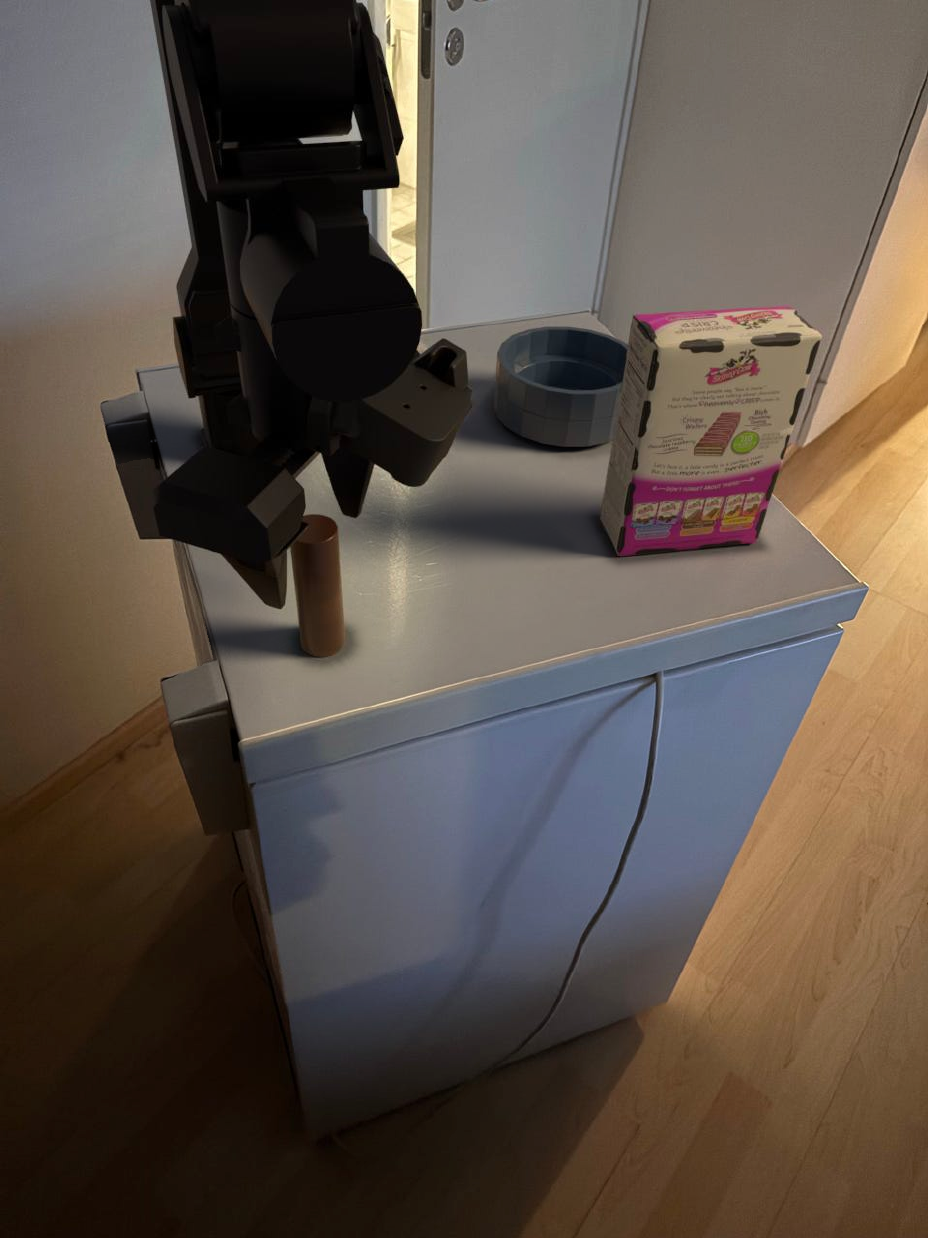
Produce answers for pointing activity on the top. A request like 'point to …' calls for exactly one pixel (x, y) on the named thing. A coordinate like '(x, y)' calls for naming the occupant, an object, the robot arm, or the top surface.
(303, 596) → the brown wooden cylinder
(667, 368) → the candy bar box
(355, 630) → the top surface
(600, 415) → the bowl
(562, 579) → the top surface
